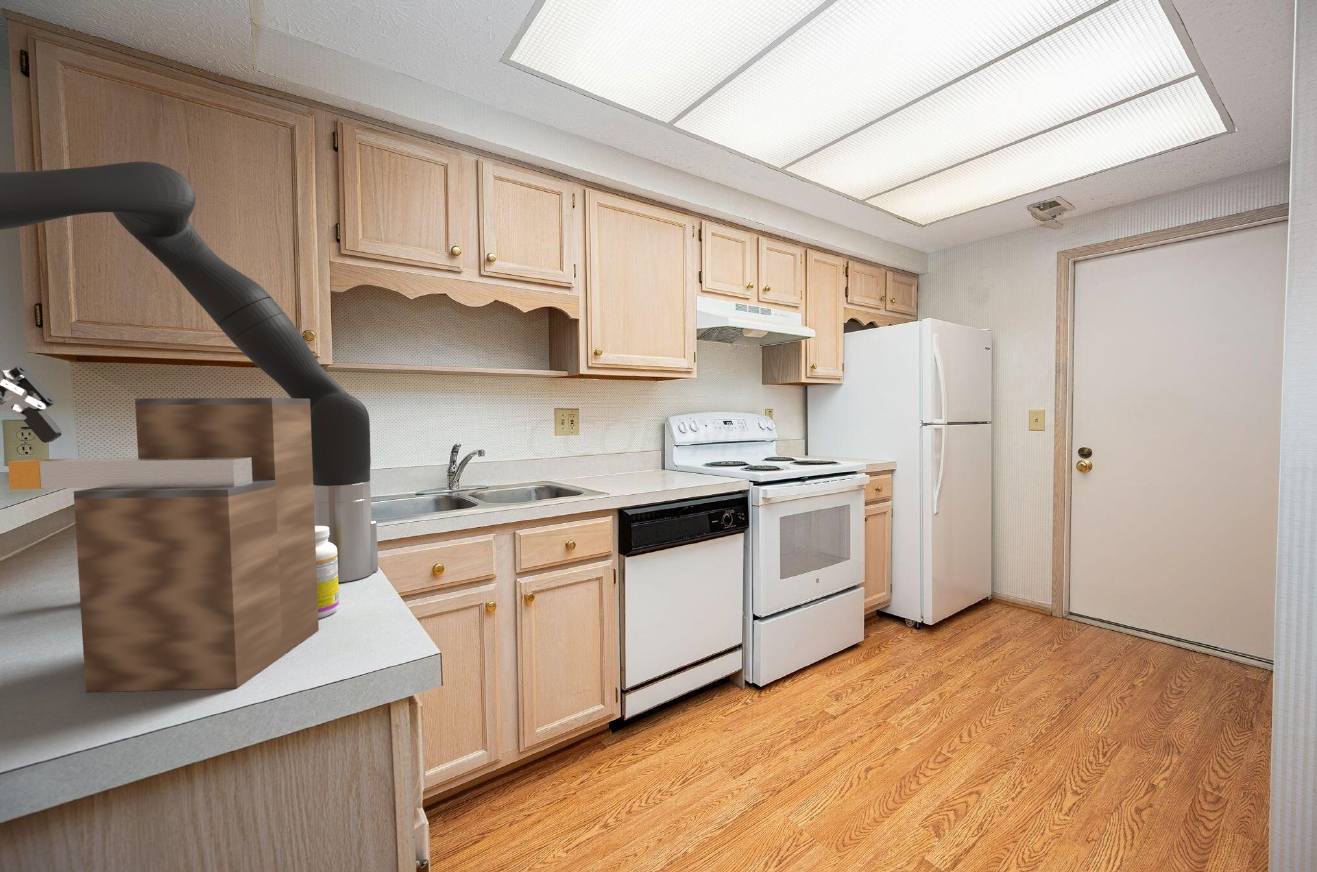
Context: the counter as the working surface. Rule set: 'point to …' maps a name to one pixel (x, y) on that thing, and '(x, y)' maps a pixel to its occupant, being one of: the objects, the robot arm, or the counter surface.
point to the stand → (201, 552)
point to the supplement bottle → (326, 573)
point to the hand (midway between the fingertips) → (19, 445)
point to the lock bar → (129, 472)
